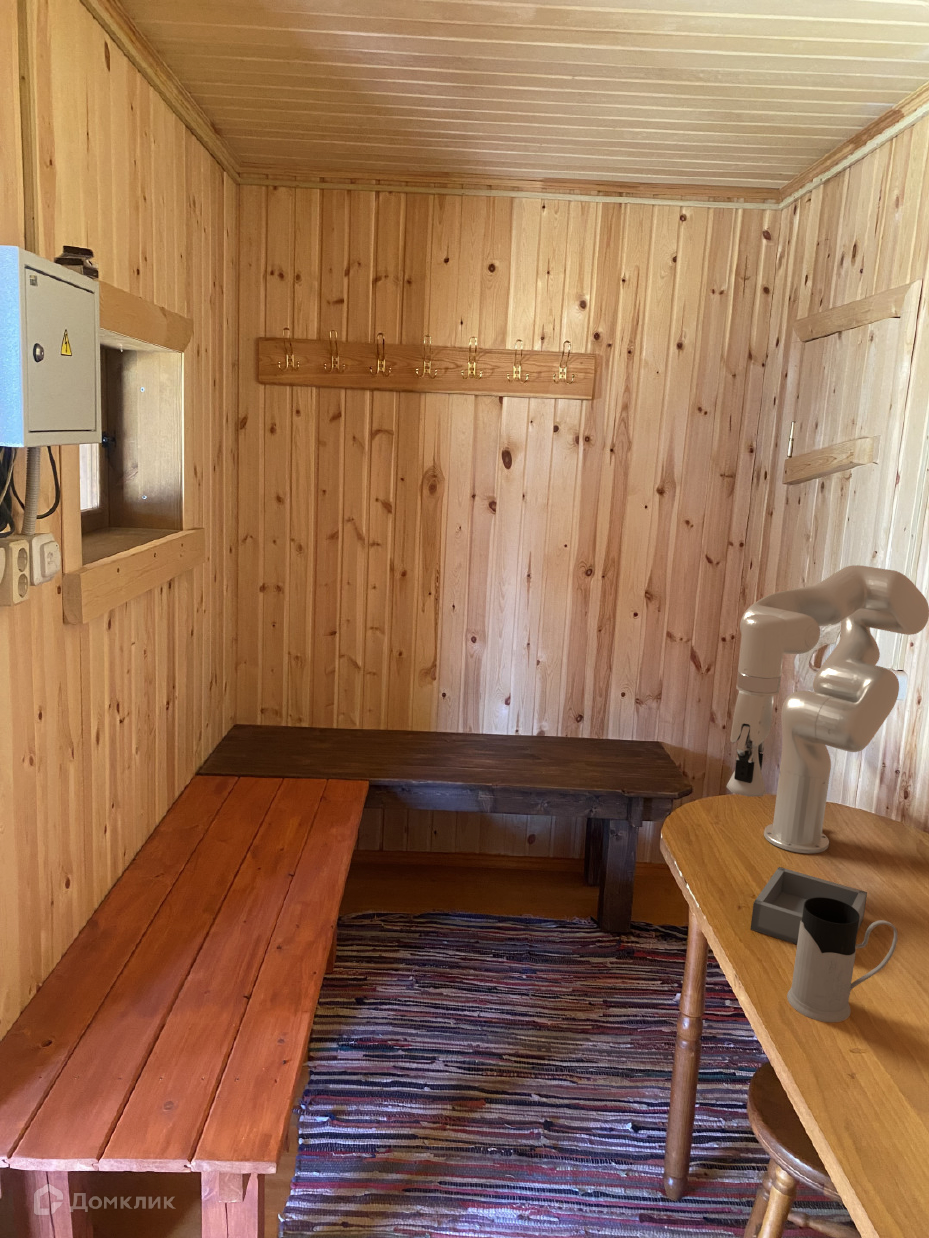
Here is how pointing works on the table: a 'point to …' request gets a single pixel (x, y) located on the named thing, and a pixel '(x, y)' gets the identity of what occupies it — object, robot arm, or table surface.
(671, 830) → the table surface
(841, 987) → the grey mug
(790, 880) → the charcoal box
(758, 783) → the flask
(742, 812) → the table surface
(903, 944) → the table surface
